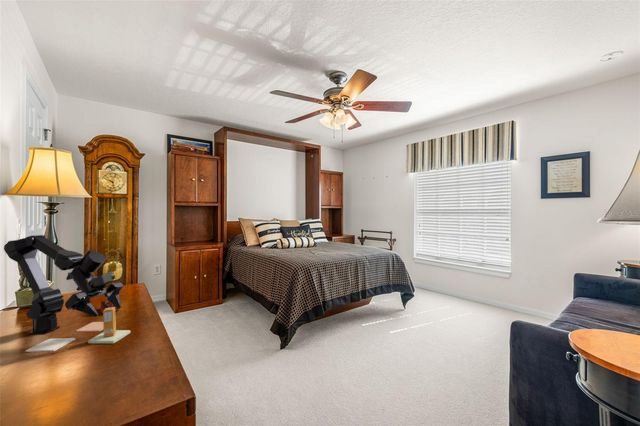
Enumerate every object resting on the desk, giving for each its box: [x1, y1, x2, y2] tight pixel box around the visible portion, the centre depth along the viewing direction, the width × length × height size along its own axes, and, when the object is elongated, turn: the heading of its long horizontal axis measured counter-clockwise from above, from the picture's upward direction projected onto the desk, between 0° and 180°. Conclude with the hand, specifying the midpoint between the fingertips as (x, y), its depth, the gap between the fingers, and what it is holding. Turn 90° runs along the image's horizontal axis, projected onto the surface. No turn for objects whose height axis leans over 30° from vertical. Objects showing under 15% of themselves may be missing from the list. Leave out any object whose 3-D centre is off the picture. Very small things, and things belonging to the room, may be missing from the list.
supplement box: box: [102, 307, 117, 337], centre depth 105 cm, size 3×3×10 cm
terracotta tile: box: [75, 321, 104, 333], centre depth 115 cm, size 9×9×1 cm
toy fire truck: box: [100, 297, 120, 314], centre depth 135 cm, size 7×12×10 cm, turn 38°
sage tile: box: [87, 329, 131, 344], centre depth 105 cm, size 9×9×1 cm
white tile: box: [25, 337, 76, 353], centre depth 99 cm, size 9×9×1 cm
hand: (109, 311), depth 105 cm, fingers open, 9 cm apart
